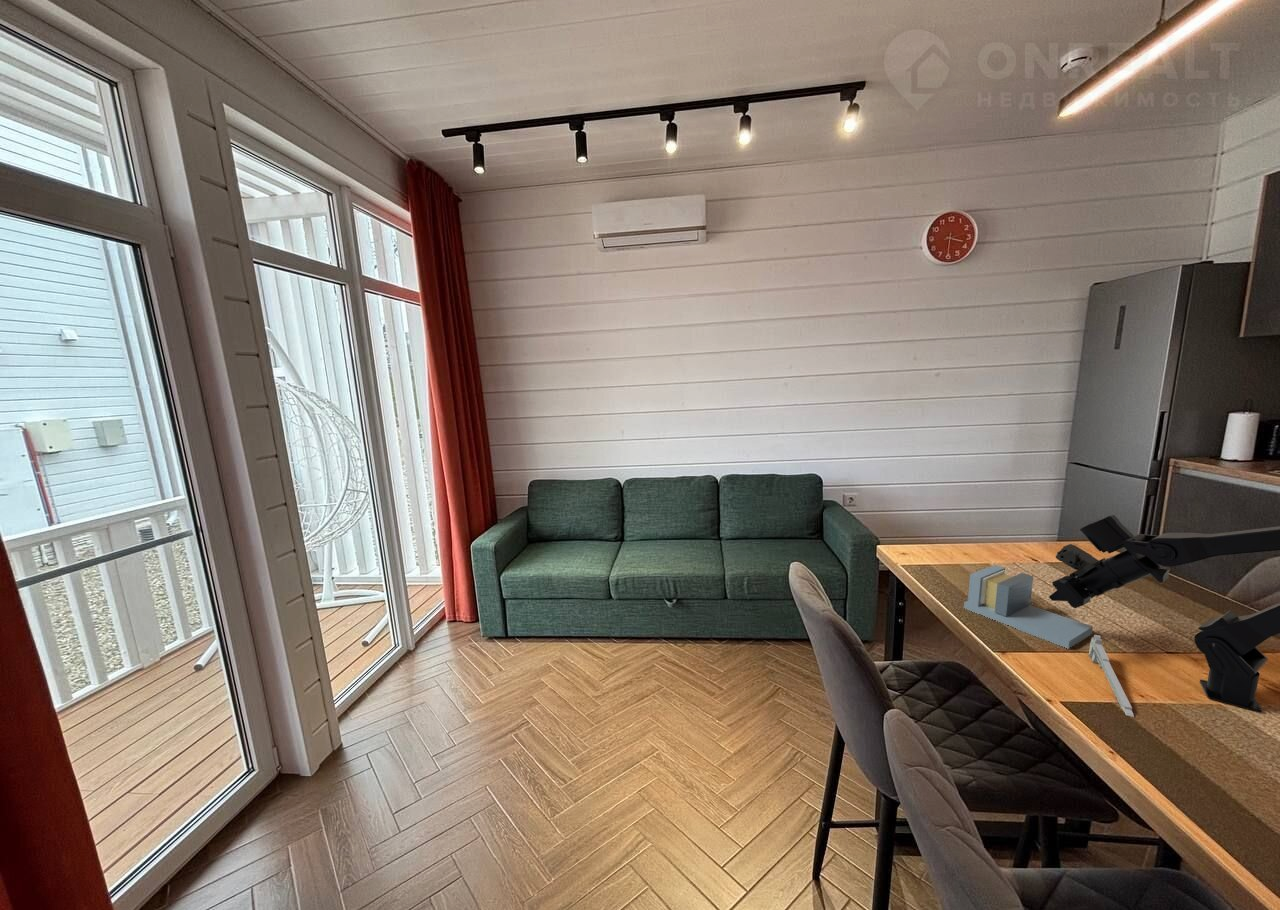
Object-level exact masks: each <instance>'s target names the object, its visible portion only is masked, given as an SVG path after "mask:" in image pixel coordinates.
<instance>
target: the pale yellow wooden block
mask: <svg viewBox="0 0 1280 910" xmlns="http://www.w3.org/2000/svg"><path fill="white" fill-rule="evenodd" d="M1011 577H1013V576H1011V575H1009V574H1006V573H1005V574H1000V575H998V576H995V577H993V578H991V579H988V580H986V589H985V600H984V606H987V607H989V608H992V609H995V603H996V593H997V583H999V582H1002V581H1004V580H1006V579H1009V578H1011Z"/></svg>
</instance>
